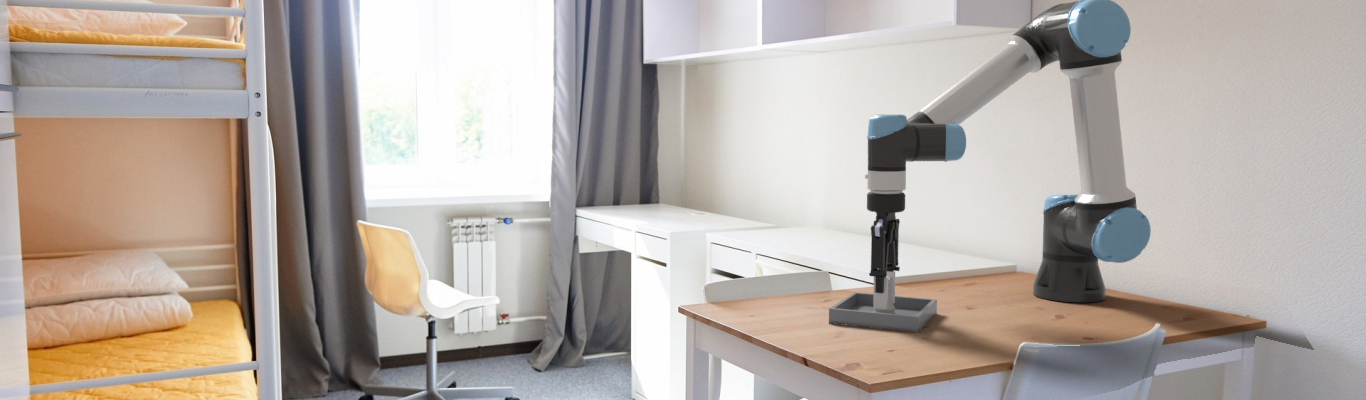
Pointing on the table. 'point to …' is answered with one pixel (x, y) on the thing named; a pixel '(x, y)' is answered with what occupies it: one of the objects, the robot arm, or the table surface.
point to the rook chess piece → (890, 303)
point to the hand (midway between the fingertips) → (884, 305)
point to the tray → (861, 313)
